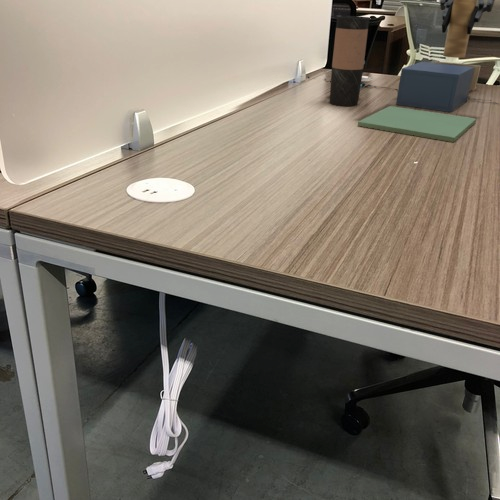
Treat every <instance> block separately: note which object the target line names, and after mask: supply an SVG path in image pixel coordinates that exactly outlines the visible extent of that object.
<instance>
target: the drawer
mask: <svg viewBox="0 0 500 500" xmlns="http://www.w3.org/2000/svg"><path fill="white" fill-rule="evenodd" d="M433 63H439V64H449V65H460V66H470V67H474V72H473V76H472V81H471V85H470V89H469V92H471V91H473V92H475V91H476V90H477V89H476V88H477V84H478V80H479V75H480V72H481V71H480V70H481V65H476V64H469V63H456V62H447V61H437V60H436V61H433Z"/></svg>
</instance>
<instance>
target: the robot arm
mask: <svg viewBox="0 0 500 500" xmlns="http://www.w3.org/2000/svg"><path fill="white" fill-rule="evenodd" d="M495 1H496V0H487V1H486V3H485V0H478V5H476V6H475V8H474V10H473V13H472V15H471V18H470V21H469V23H468V26H467V34H470V35H471V34H472V31H473V28H474V26H475V24H476V23H479V22H480V21H481V18H482V16H483V13H484V12H486V13H491V12H492V10H493V7H494V5H495ZM439 5H440V7H439V8H440V10H441V11H442V15H441V17H442V24H441V32H442V33H443V34H444V33H446V32H447V31H448V27H449V22H450V16H451V11H452V6H453V0H440V1H439Z"/></svg>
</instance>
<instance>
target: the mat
mask: <svg viewBox="0 0 500 500" xmlns="http://www.w3.org/2000/svg"><path fill="white" fill-rule="evenodd" d="M476 122H477V118H475V117H467V116H462V115H461V116H460V115H453V114H448V113H439V112H434V111H433V112H432V111H427V110H420V109H413V108H406V107H398V106H393V105H392V106H391V105H389V106H387V107H385V108H383V109H381V110H379V111H377V112H374V113H373V114H370V115H369V116H366V117H364V118H363V119H360V120H359V121H358V122H357V127H360V126H362V127H361V128H366V127H368V128H367V129H372V128H374V129H373V130H377V129H380V130H379V131H383V130H385V132H389V131H390V133H395V132H396V134H400V135H401V134H402V135H408V136H413V135H414V137H420V138H424V139H430V138H431V139H432V140H436V139H437V140H438V141H443V142H449V143H454V142H456V141H457V140H458V139H459V138H460V137H461V136H463V135H464V134H465V133H466V132H467V131H468V130H470V128H471V127H473V126H474V125H475V124H476Z"/></svg>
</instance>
